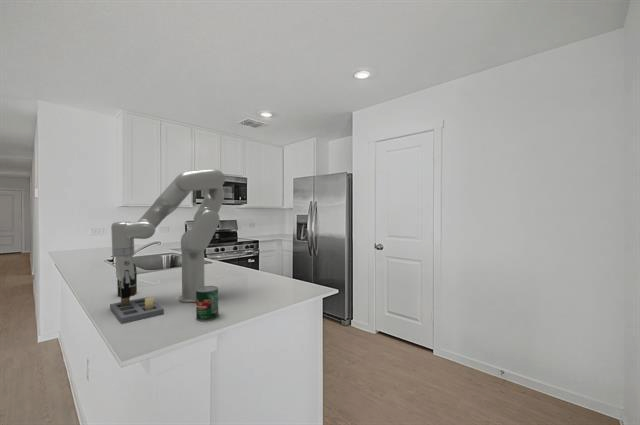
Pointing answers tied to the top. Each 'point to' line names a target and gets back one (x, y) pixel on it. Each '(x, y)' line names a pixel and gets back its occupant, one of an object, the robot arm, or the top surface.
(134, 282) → the beer bottle
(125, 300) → the beech pin
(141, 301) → the peg board
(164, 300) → the top surface
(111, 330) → the top surface
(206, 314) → the canned tomato
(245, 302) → the top surface
